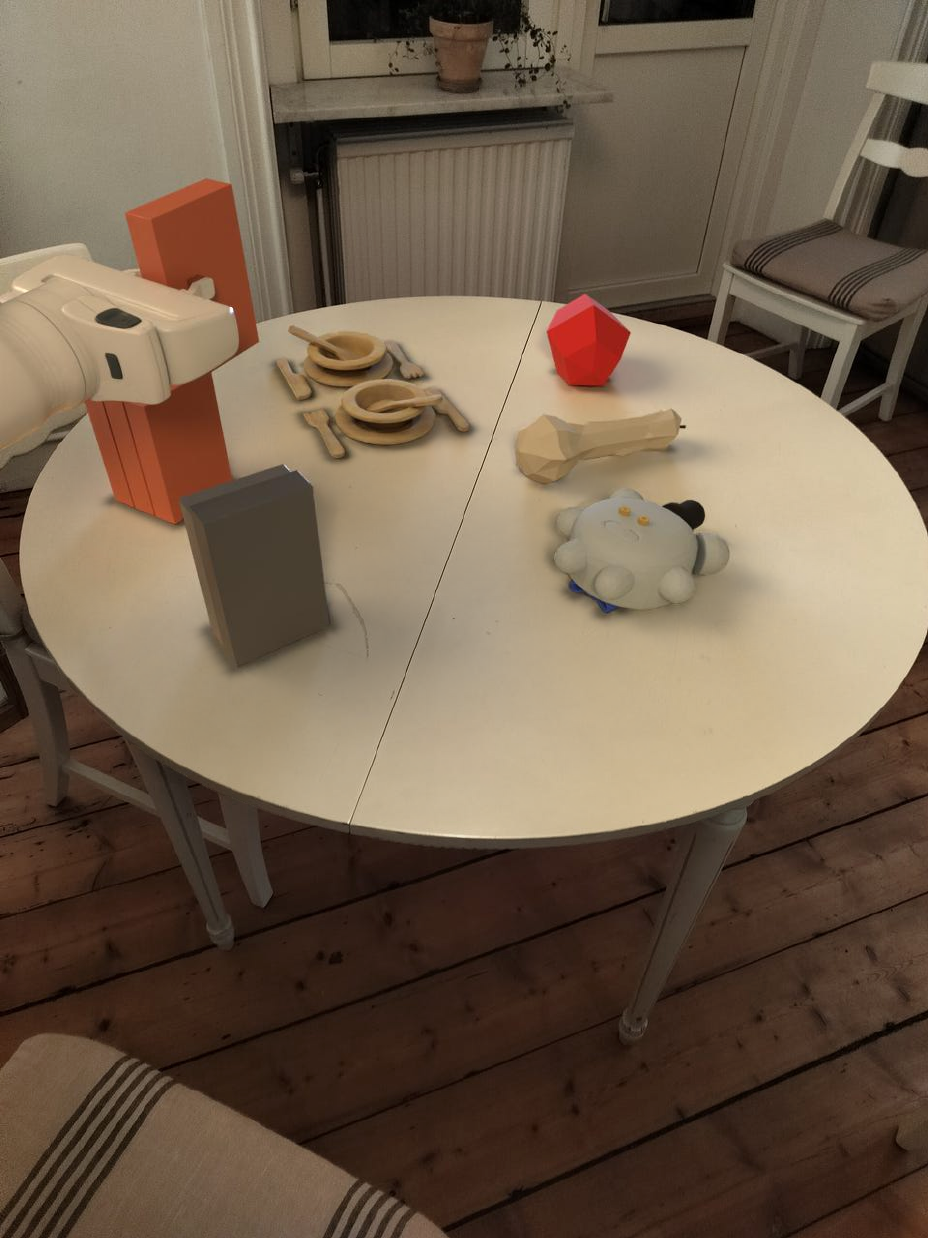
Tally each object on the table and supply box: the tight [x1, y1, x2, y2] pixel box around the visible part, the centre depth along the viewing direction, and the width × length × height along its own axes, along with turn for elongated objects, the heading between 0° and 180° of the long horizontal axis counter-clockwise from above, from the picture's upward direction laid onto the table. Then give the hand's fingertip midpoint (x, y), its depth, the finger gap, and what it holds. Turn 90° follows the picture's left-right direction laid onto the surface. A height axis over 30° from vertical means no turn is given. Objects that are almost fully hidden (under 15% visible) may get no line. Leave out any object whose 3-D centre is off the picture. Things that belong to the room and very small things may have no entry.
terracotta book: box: [124, 178, 260, 385], centre depth 77 cm, size 10×3×15 cm, turn 151°
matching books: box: [84, 372, 234, 525], centre depth 95 cm, size 10×9×15 cm
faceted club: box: [514, 408, 687, 485], centre depth 104 cm, size 9×8×25 cm
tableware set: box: [276, 324, 470, 459], centre depth 116 cm, size 30×20×6 cm, turn 24°
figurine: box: [553, 487, 731, 614], centre depth 89 cm, size 17×8×20 cm
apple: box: [546, 293, 632, 387], centre depth 121 cm, size 12×12×15 cm
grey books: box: [179, 463, 330, 667], centre depth 77 cm, size 10×6×17 cm, turn 125°
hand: (189, 278), depth 76 cm, fingers closed on terracotta book, 3 cm apart
